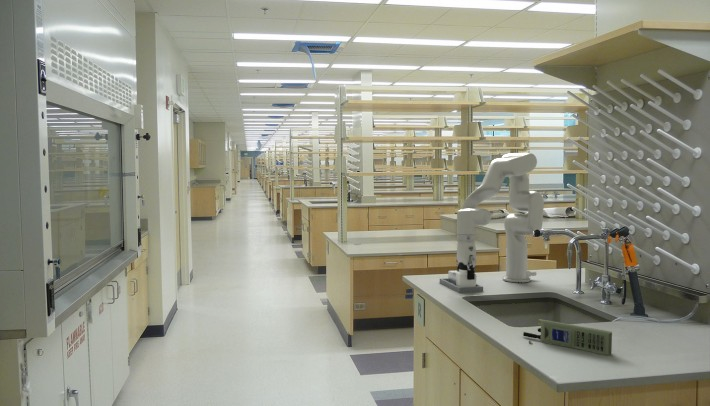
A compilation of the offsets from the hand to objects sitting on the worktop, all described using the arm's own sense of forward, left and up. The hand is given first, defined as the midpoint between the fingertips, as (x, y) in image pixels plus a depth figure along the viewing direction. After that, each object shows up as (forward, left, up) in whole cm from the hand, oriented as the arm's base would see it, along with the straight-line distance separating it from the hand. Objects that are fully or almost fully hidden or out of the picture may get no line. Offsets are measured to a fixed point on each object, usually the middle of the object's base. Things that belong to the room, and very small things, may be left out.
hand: (465, 277), depth 226 cm
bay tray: (0, -5, -6) cm, 8 cm away
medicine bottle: (0, 0, -5) cm, 5 cm away
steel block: (0, -10, -5) cm, 11 cm away
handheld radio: (+4, +74, -6) cm, 74 cm away
